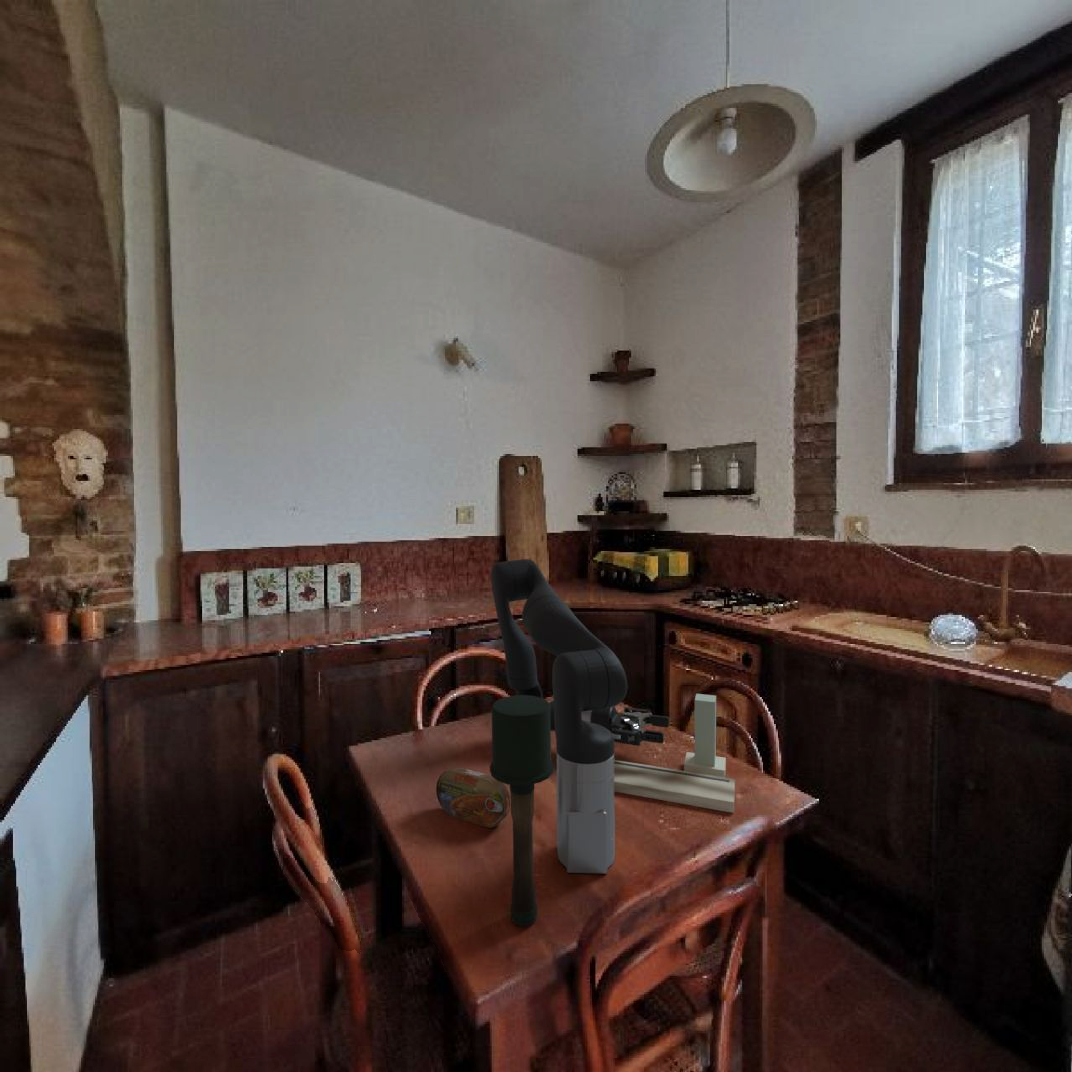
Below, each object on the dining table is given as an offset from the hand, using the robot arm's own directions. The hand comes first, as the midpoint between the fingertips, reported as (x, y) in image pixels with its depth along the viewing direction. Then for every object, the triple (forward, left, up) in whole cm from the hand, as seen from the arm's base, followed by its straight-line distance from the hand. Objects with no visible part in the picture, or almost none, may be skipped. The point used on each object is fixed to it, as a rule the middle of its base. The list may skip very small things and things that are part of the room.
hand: (666, 729), depth 117 cm
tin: (-20, +38, -8) cm, 44 cm away
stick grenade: (-44, +27, -8) cm, 53 cm away
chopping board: (-9, +2, -8) cm, 12 cm away
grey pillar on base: (-2, -8, -8) cm, 11 cm away
